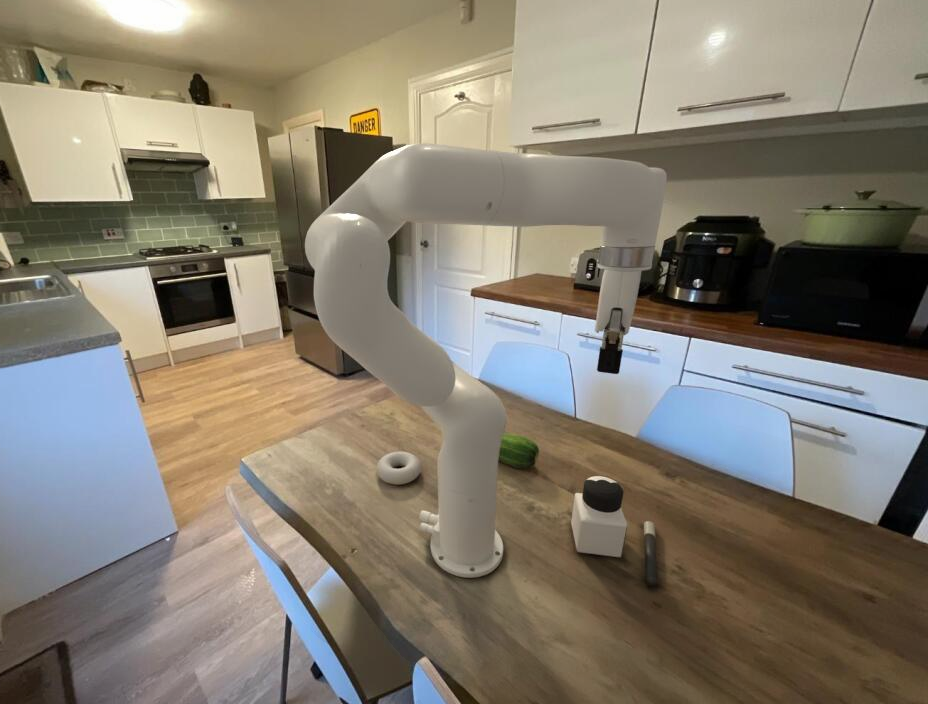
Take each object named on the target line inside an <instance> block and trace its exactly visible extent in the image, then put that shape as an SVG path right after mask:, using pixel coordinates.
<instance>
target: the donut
mask: <svg viewBox="0 0 928 704" xmlns="http://www.w3.org/2000/svg"><path fill="white" fill-rule="evenodd" d="M397 467H401V468H397ZM421 470H422V464H421V461H420V460H419V458H418V457H417V456H416V455H414V454H412V453H411V452H408V451H401V450H400V451H393V452H389V453H386V454H385V455H383V457H381V458H380V459H379V460H378V462H377V465H376V473H377V475H378V477H379V478H380V479H381V480H382V481H383V482H384V483H386V484H389V485H396V486H398V485H399V486H400V485H405V484H409V483H410V482H412V481H414V480H416V479H417V478H418V476H420V473H421Z"/></svg>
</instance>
